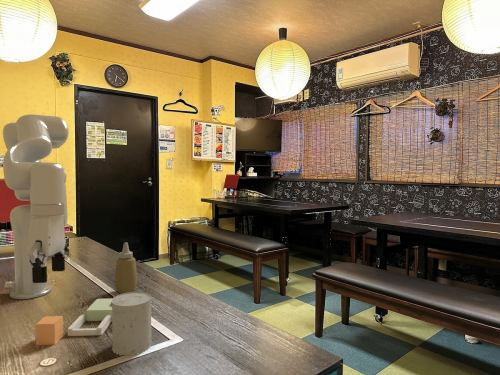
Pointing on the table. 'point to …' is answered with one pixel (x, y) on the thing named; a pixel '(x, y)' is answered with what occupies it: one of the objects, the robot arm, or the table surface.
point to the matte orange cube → (49, 330)
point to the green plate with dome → (93, 319)
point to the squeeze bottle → (125, 271)
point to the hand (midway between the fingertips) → (49, 276)
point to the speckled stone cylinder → (131, 323)
